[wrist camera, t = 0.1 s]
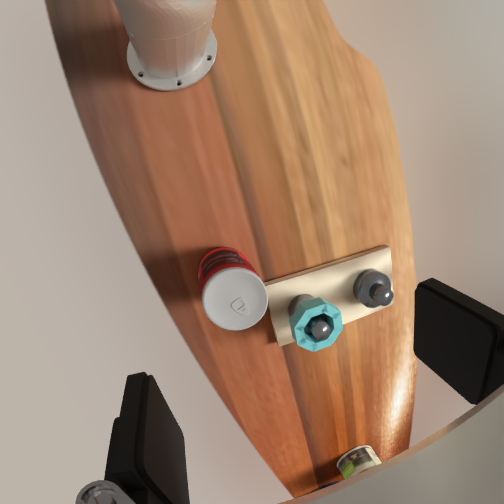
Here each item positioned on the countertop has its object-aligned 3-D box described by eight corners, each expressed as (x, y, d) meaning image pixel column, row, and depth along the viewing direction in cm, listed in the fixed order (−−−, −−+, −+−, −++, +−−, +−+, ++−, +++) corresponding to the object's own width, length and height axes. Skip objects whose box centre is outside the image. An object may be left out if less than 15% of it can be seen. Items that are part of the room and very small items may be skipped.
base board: (262, 282, 49) (265, 286, 48) (385, 244, 52) (390, 246, 50) (276, 342, 52) (279, 346, 51) (388, 301, 55) (393, 304, 54)
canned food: (232, 305, 49) (245, 341, 38) (187, 279, 46) (188, 311, 36) (260, 264, 48) (282, 291, 38) (216, 235, 46) (225, 256, 35)
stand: (284, 299, 49) (302, 322, 41) (315, 289, 49) (337, 310, 42) (290, 326, 50) (308, 352, 43) (319, 317, 51) (340, 340, 43)
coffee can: (329, 471, 67) (350, 510, 53) (348, 445, 65) (373, 486, 51) (359, 468, 69) (381, 503, 56) (378, 443, 68) (404, 479, 54)
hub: (351, 274, 50) (368, 286, 45) (381, 264, 51) (400, 274, 46) (354, 306, 52) (371, 320, 47) (383, 295, 53) (401, 307, 47)
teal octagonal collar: (286, 307, 44) (291, 315, 42) (332, 292, 45) (339, 298, 43) (294, 348, 46) (299, 356, 44) (337, 332, 47) (344, 340, 45)
